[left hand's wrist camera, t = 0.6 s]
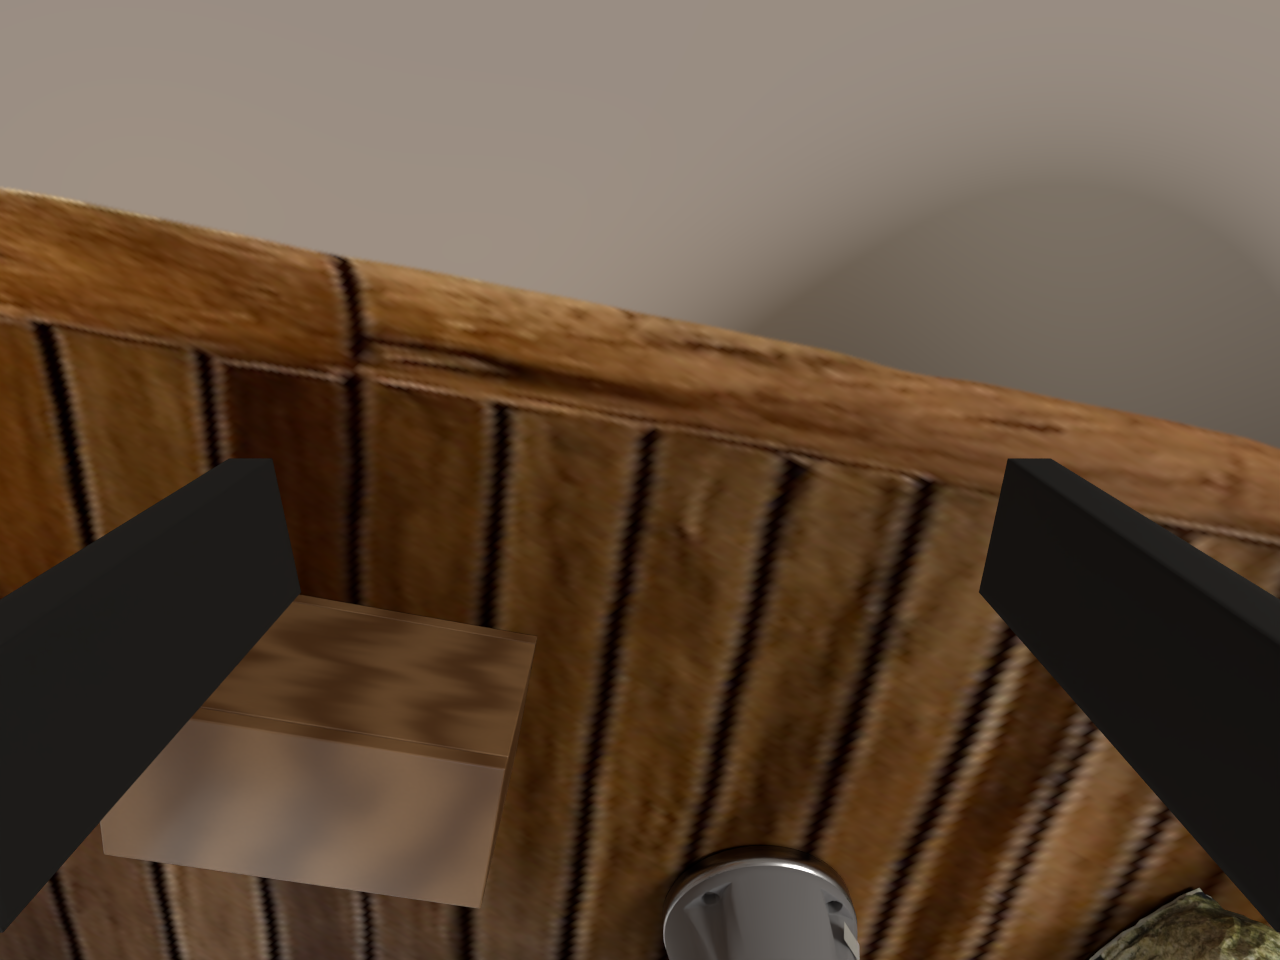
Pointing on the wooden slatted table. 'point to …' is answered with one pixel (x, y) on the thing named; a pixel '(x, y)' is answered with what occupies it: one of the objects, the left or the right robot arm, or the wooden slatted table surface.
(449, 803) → the cabinet
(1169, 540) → the left robot arm
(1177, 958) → the fossil
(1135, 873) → the wooden slatted table surface
